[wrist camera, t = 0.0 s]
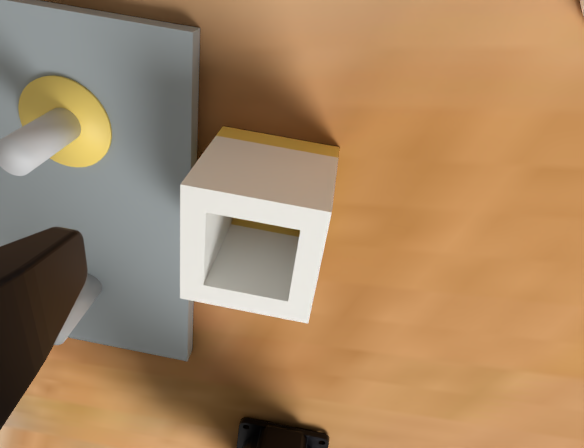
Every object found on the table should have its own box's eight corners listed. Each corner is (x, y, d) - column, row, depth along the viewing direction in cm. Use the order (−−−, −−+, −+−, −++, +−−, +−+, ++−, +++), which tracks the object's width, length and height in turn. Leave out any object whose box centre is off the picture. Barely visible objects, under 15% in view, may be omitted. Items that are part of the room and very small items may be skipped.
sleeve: (319, 243, 25) (308, 323, 20) (217, 224, 25) (179, 298, 20) (339, 147, 22) (331, 212, 17) (222, 126, 22) (180, 184, 17)
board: (192, 349, 31) (164, 416, 26) (17, 314, 31) (-37, 374, 27) (200, 28, 20) (155, 54, 16) (-69, -19, 20) (-183, -5, 16)
